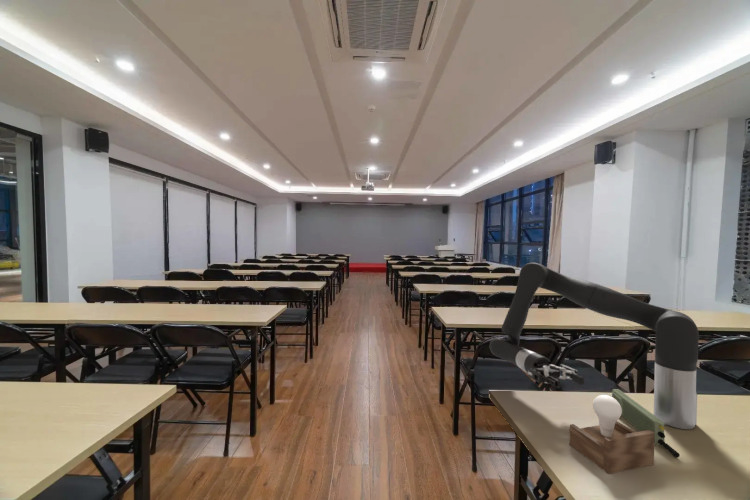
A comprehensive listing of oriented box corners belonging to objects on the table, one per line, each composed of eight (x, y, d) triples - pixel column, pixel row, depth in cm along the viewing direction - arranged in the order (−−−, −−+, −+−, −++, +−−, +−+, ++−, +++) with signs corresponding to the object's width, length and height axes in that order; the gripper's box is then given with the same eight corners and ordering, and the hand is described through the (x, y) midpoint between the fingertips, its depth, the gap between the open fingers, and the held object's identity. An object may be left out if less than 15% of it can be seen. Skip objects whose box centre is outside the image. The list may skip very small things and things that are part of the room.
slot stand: (611, 437, 90) (611, 409, 90) (653, 464, 79) (654, 432, 79) (569, 444, 87) (569, 415, 86) (608, 473, 76) (608, 440, 76)
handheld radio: (621, 408, 105) (685, 460, 81) (610, 408, 106) (670, 460, 81) (621, 388, 105) (684, 434, 80) (610, 388, 106) (670, 434, 81)
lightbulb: (588, 435, 84) (588, 395, 83) (597, 427, 88) (598, 388, 87) (616, 448, 79) (617, 405, 78) (624, 438, 83) (625, 397, 82)
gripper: (514, 354, 109) (551, 373, 93) (550, 350, 112) (591, 368, 96) (514, 376, 109) (551, 398, 93) (550, 371, 112) (591, 392, 97)
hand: (571, 383), depth 95 cm, fingers open, 8 cm apart
